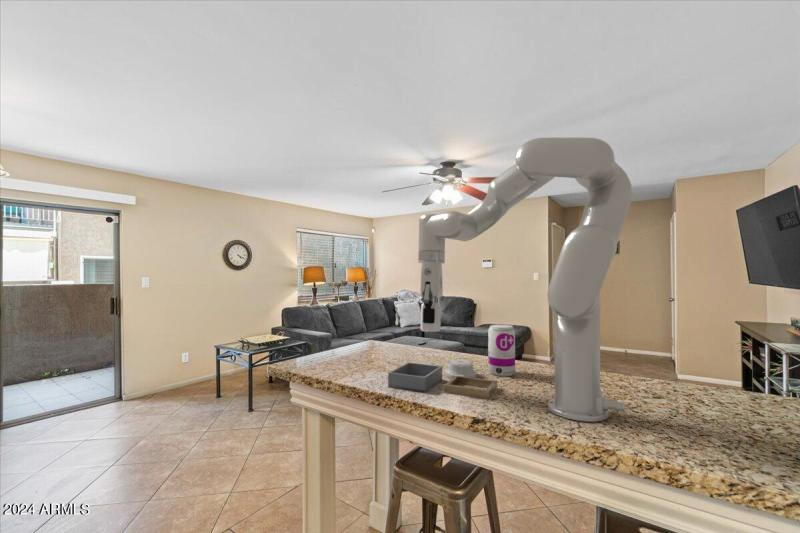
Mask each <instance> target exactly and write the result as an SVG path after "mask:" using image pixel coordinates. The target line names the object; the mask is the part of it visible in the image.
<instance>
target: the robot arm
mask: <svg viewBox="0 0 800 533" xmlns="http://www.w3.org/2000/svg"><path fill="white" fill-rule="evenodd" d="M615 159H616V158H615V154H614V150H613V148H612V147H611V145H610V144H609V143H608V142H607V141H604V140H602V139H600V138H597V137H536V138H533V139H530V140H527V141H526V142H524V143H523V144H522V145H521V146H520V147H519V148H518V150H517V152H516V154H515V163H514V164H513V165H512V166H510V167H509V168H507V169H506V170H505V171H504V172H502V173H501V174H500V175H498V176H496V177H495V178H494V179H492V181H490V182H489V185H488V188H487V193H486V195H485V198H484V199H483V200H482V201H481V202H480V204H478V205H477V206H475V207H474V208H473V209H471V210H470V211H468V212H467V213H466V214H465V213H462V212H460V211H456V210H454V211H452V210H451V211H445V212H442V213H437V214H436V213H435V214H434V213H428V214H423V215H421V216H420V217H419V220H418V255H417V256H418V262H417V263H418V264H421V270H420V272H421V273H420V297H422V298H423V303H424V305H423V308H424V309H423V323H432V324H433V323H434V322H435V309H434V296H435V302H437V303H438V299H439V298H441V297H442V296H443V288H444V287H443V265H442V264H445V263H446V260H445V258H446V255H445V254H446V239H447V240H448V239H449V240H450V239H451V240H455V241H456V240H457V241H460V242H468V241H471V240H474V239H475V238H477V237H478V236H480V235H481V234H483V233H485V232H486V231H488V230H489V229H491V228H492V227H494V225H496V224H497V223H498V222H499V221H500V220H501V219H502V218H503V217H504V216H505V215H506V213H508V211H509V210H510V209H512V208H513V207H514V206H515V205H517V204H519V203H520V202H522V201H523V200H524V199H526V198H528V197H529V196H530V195H532V194H533V193H535V192H536V191H538V190H540V189H541V188H542V187H544V186H545V185H546V184H548V183H550V181H552V180H554V178H555V177H556V178H569V179H570V178H571V179H575V181H576V182H577V183H578V184H579V185H580V186H582V187H583V188H585V189H586V191H587V192H588V198H587V202H586V204H585V207H584V209H583V213H582V217H581V219H580V222H579V225H578V227H577V228H574V229H573V230H572V231H571V232H570V233H568V235H567V237H566V238H565V240H564V242H563V244H562V248H561V250H560V253H559V255H558V258H557V262H556V263H555V267H554V270H553V273H552V275H551V278H550V282H549V286H548V289H547V294H546V295H547V302H548V305H549V306H550V307H549V308H550V309H551V310H552V311H553V312H554V322H553V323H554V326H553V327H554V329H553V330H554V331H553V332H554V334H553V336H554V338H553V340H554V342H553V343H554V344H553V345H554V347H553V348H554V350H553V351H554V352H553V353H554V355H553V356H554V357H553V358H554V360H553V361H554V363H553V364H554V365H553V366H554V398H552V399H549V400H548V401H547V408H548V409H549V411H550V412H551V413H553V414H555V415H557V416H559V417H562V418H564V419H569V420H573V421H579V422H592V423H593V422H594V423H595V422H601V421H604V420H607V419H608V418H610V417H609V416H610V413H609V412H610V410H613V411H615V412H623V413H625V412H626V403H625V402H623V401H618V398H616V399H615V398H608V397H607V398H606V396H603V391H602V390H601V304H602V303H601V291H602V287H603V285H604V281H605V279H606V276H607V274H608V271H609V269H610V266H611V263H612V260H614V258H615V256H616V253H617V252H616V251H617V245H618V242H619V240H620V237H621V233H622V231H623V228H624V225H625V222H626V218H627V215H628V213H629V209H630V205H631V202H632V198H633V187H632V184H631V180H630V178H629V176H628V174H627V172H626V171H625V170H624V169H623V168H622V167H621V166H620V165H619V164H618V163H617V162H616V161H615ZM429 296H432V298H431V297H429ZM431 300H432V302H431Z"/></svg>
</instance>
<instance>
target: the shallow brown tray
mask: <svg viewBox="0 0 800 533" xmlns="http://www.w3.org/2000/svg"><path fill="white" fill-rule="evenodd" d="M461 385H462V386H461ZM470 386H471V387H470ZM476 387H477V388H476ZM483 388H484V389H483ZM497 389H498V380H493V379H484V378H479V377H478V378H477V377H476V378H471V377H463V376H455V377H453V378H450V380H448V381H447V382H446V383H445V384H444V385H443V393H445V394H452V395H458V396H465V397H472V398H478V399H485V400H490V399H491V397H493V395H494V394H495V393H496V391H497Z"/></svg>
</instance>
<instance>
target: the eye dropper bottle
mask: <svg viewBox="0 0 800 533" xmlns="http://www.w3.org/2000/svg"><path fill="white" fill-rule="evenodd" d="M429 297H431V298H432V296H429ZM431 302H432V300H431ZM423 305H424V302H423V303H421V305H420V323H419V324H420V331H421V332H425V333H436V332H437V333H439V332H440V331H441V326H442V325H441V320H442V319H441V318H442V317H441V316H442V314H441V313H442V312H441V311H442V307H441V304H440V303H439V302H438V301H437V302H435V296H434V309H435V322H434V323H433V324H432V323H423V309H424V308H423Z"/></svg>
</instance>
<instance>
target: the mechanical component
mask: <svg viewBox="0 0 800 533" xmlns="http://www.w3.org/2000/svg"><path fill="white" fill-rule="evenodd" d="M447 364H448V368H446V369H445V370H444V376H445V377H447V378H448V379H452V378H453V377H455V376H463V377H471V378H477V377H478V372H477V370H475V369H474V365H473V361H470V360H467V359H466V360H465V359H454V360H453V359H452V360H449V361H448V363H447Z"/></svg>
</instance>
